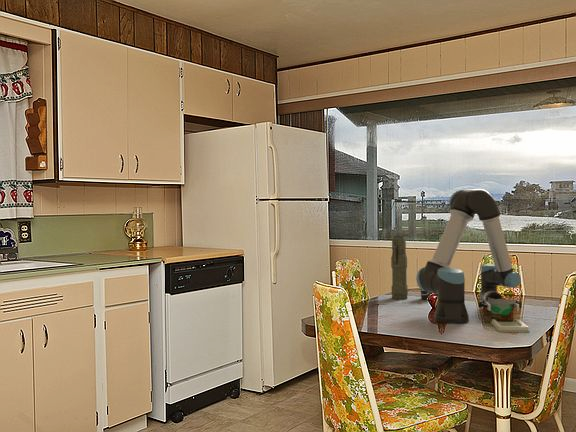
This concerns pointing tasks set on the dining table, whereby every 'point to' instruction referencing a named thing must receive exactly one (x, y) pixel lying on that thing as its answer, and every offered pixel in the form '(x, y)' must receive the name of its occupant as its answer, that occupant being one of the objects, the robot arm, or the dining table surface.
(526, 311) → the dining table surface
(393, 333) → the dining table surface
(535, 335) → the dining table surface
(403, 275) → the olive brown statue
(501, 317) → the food container
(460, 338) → the dining table surface
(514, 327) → the cream rectangular tray
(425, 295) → the coffee cup
